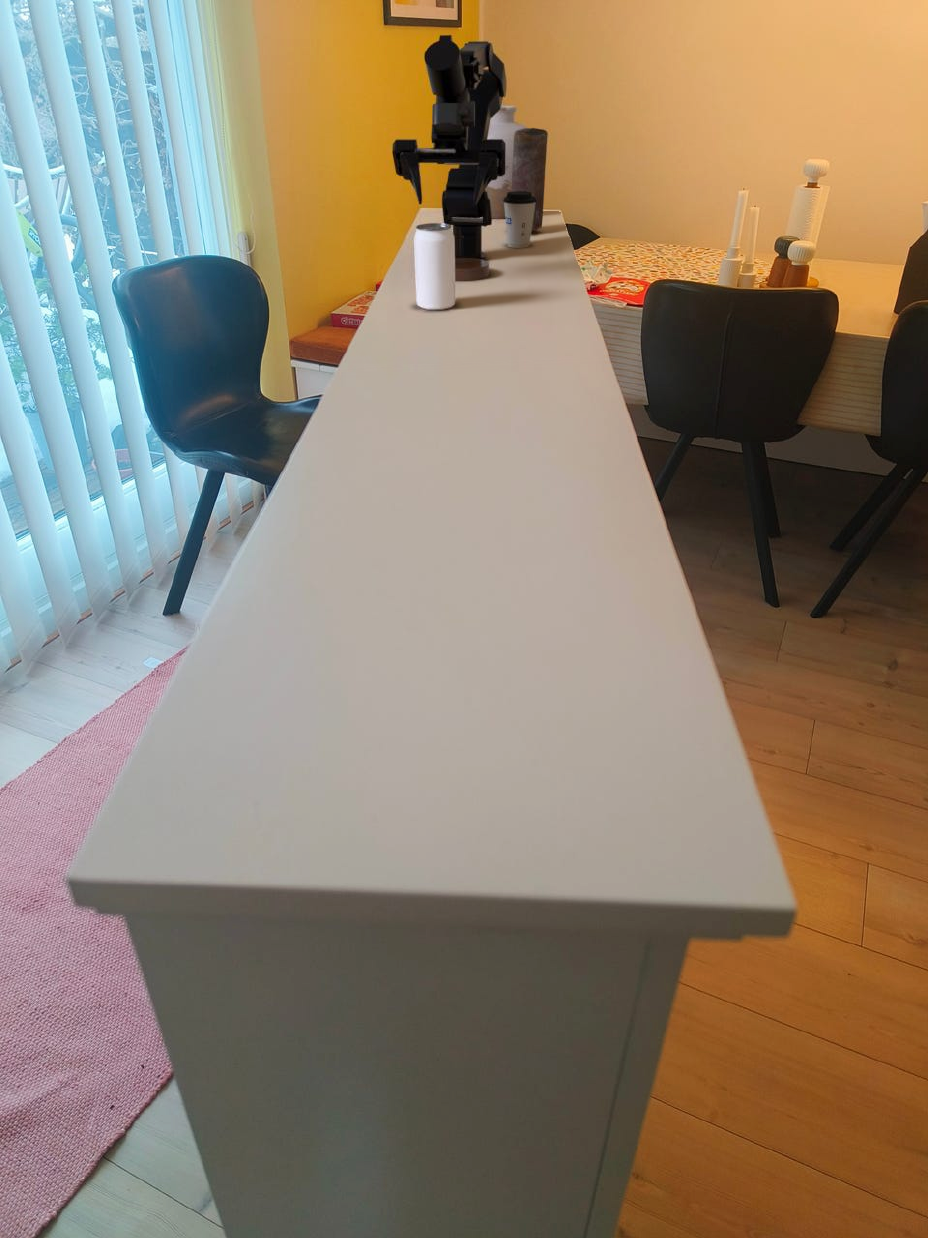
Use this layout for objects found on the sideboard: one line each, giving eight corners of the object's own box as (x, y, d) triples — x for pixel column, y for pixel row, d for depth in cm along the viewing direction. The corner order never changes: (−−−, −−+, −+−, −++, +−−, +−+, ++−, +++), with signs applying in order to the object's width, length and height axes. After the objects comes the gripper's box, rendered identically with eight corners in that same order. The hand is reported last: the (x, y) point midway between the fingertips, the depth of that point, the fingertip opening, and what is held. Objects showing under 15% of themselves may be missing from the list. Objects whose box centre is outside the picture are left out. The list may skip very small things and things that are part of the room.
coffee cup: (537, 242, 175) (539, 190, 169) (532, 249, 169) (534, 195, 164) (505, 241, 176) (506, 189, 170) (499, 248, 171) (500, 194, 165)
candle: (546, 229, 186) (551, 127, 175) (538, 236, 181) (542, 131, 169) (514, 228, 188) (517, 127, 177) (505, 234, 183) (507, 130, 171)
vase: (475, 222, 194) (475, 109, 181) (461, 210, 207) (460, 104, 194) (539, 219, 197) (543, 107, 184) (521, 208, 210) (525, 103, 196)
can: (415, 300, 138) (412, 222, 131) (454, 299, 138) (452, 221, 131) (417, 311, 132) (413, 230, 125) (456, 310, 133) (455, 229, 126)
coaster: (438, 269, 156) (438, 258, 154) (485, 268, 156) (485, 257, 155) (442, 281, 148) (442, 269, 147) (491, 279, 149) (492, 268, 148)
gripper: (390, 80, 131) (384, 167, 128) (506, 80, 130) (503, 167, 127) (399, 133, 142) (394, 214, 139) (506, 133, 141) (503, 215, 138)
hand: (447, 202), depth 135 cm, fingers open, 9 cm apart
